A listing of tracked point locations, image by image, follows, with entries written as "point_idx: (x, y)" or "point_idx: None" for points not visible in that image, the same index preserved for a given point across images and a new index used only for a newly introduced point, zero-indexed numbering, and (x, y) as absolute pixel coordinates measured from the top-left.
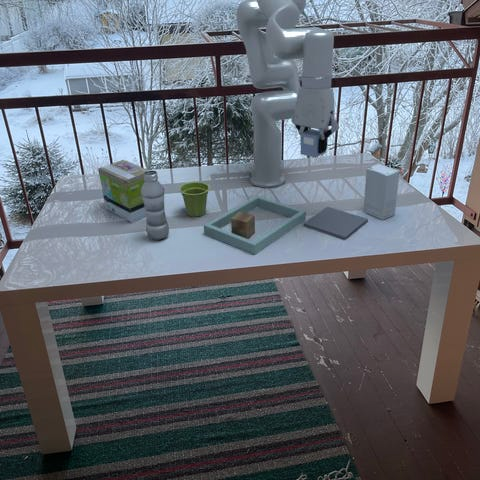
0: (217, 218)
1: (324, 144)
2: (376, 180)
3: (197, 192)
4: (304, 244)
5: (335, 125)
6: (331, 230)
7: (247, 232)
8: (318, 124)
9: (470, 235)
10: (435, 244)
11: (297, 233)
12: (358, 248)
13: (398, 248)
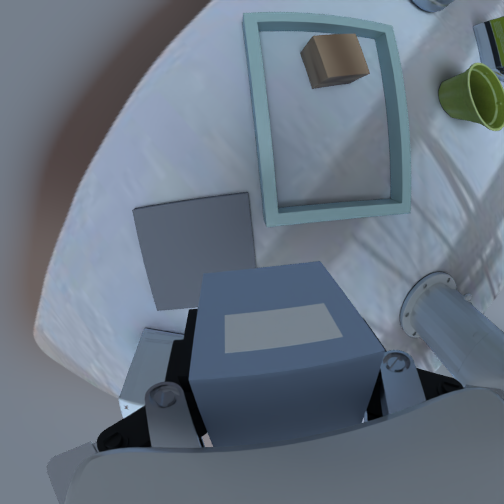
0: (397, 61)
1: (169, 366)
2: None
3: (484, 120)
4: (186, 125)
5: (54, 488)
6: (172, 211)
7: (306, 49)
8: (146, 495)
9: (50, 356)
10: (48, 307)
11: (233, 152)
12: (98, 202)
13: (62, 257)
